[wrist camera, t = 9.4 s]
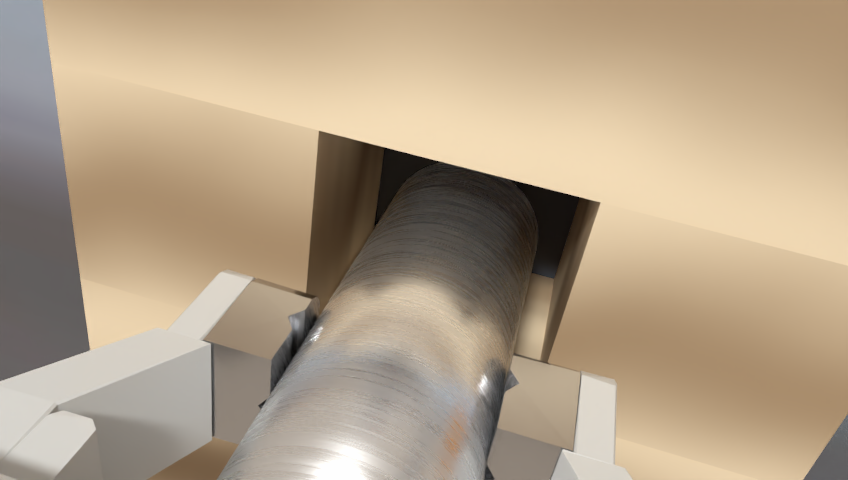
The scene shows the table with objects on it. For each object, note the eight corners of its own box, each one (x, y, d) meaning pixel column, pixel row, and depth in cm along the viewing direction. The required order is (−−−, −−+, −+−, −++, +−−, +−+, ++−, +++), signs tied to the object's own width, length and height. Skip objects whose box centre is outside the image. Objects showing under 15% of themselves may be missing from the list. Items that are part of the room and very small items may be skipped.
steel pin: (400, 143, 14) (113, 550, 6) (555, 183, 13) (450, 667, 6) (381, 271, 15) (135, 715, 8) (519, 308, 15) (400, 815, 7)
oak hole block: (181, -404, 12) (-25, -501, 8) (1078, -263, 10) (1335, -306, 6) (200, 374, 22) (109, 491, 18) (660, 517, 20) (666, 680, 16)
